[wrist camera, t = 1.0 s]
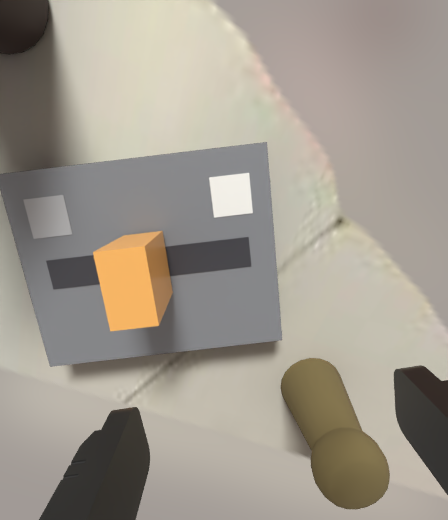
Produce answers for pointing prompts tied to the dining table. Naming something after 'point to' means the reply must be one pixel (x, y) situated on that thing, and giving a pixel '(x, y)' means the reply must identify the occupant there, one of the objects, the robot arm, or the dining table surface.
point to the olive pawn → (334, 436)
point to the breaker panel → (176, 244)
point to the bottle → (21, 24)
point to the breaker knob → (134, 280)
